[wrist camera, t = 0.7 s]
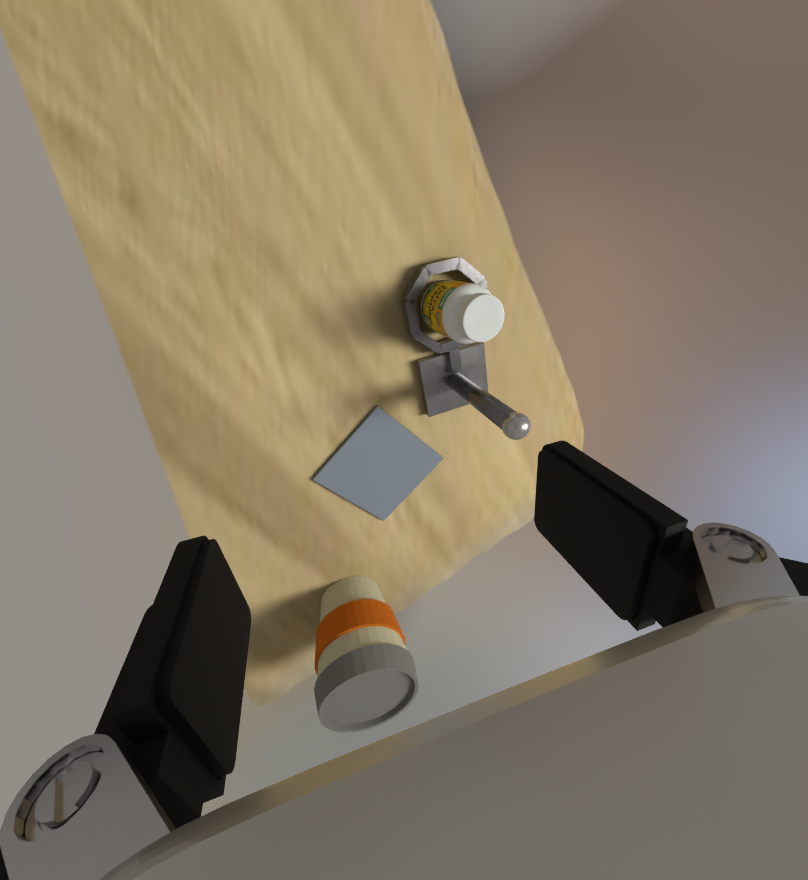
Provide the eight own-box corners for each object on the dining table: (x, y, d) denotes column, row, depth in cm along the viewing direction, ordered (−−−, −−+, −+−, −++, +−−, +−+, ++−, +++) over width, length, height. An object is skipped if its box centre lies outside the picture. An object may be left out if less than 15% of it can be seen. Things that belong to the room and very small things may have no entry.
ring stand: (394, 271, 36) (456, 281, 23) (476, 250, 37) (577, 249, 25) (422, 415, 44) (479, 481, 31) (488, 394, 46) (568, 449, 33)
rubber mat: (312, 477, 44) (312, 479, 44) (377, 405, 42) (378, 406, 42) (382, 518, 50) (383, 520, 50) (442, 456, 48) (443, 458, 48)
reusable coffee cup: (324, 636, 57) (335, 746, 45) (295, 587, 51) (299, 698, 38) (397, 606, 59) (428, 703, 46) (379, 555, 53) (409, 651, 40)
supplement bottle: (457, 335, 41) (500, 355, 33) (413, 326, 39) (447, 345, 31) (471, 285, 39) (520, 293, 31) (425, 273, 37) (465, 279, 29)
